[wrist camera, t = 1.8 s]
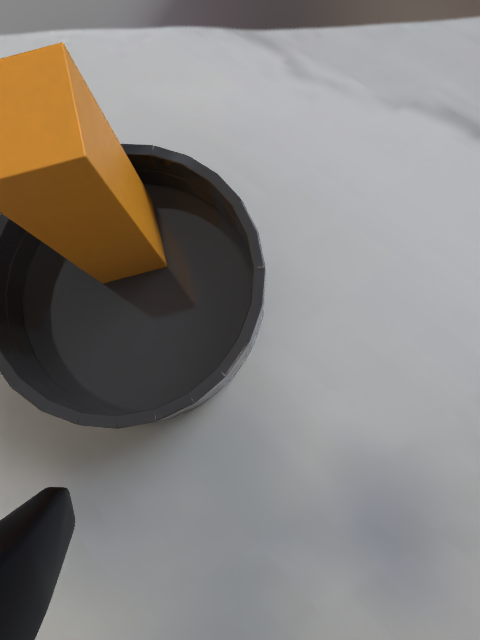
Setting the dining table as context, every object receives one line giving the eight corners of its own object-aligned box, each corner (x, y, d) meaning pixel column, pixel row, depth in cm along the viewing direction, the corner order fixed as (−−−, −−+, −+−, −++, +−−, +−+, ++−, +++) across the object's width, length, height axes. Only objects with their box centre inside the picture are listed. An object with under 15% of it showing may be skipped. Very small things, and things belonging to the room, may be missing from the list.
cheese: (167, 266, 24) (86, 156, 13) (102, 284, 24) (-36, 188, 13) (152, 199, 25) (62, 41, 14) (88, 216, 25) (-52, 72, 14)
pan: (165, 476, 23) (146, 492, 19) (-31, 327, 25) (-83, 315, 21) (312, 261, 25) (321, 237, 21) (117, 139, 27) (94, 97, 23)
